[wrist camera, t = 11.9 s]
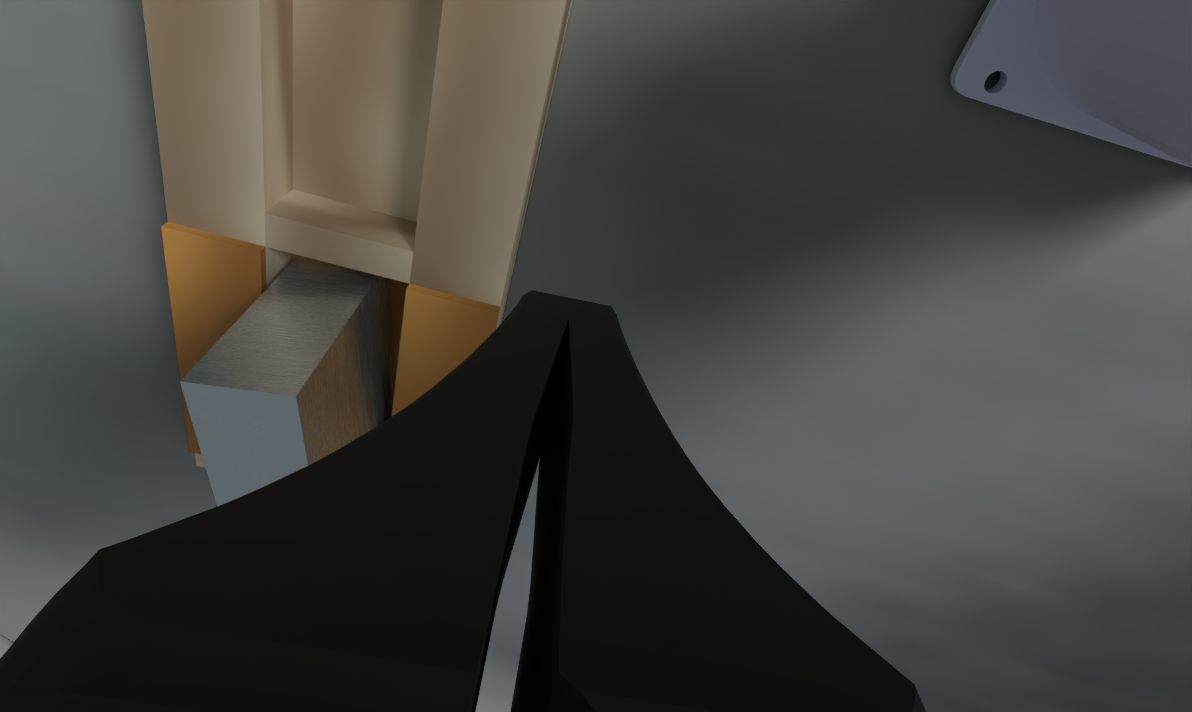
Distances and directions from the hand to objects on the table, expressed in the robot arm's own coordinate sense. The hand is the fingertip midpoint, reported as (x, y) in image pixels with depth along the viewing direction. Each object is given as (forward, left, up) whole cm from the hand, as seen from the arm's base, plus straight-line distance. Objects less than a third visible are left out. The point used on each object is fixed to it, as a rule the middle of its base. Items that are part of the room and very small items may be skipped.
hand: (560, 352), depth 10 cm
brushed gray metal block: (+6, +8, -9) cm, 14 cm away
